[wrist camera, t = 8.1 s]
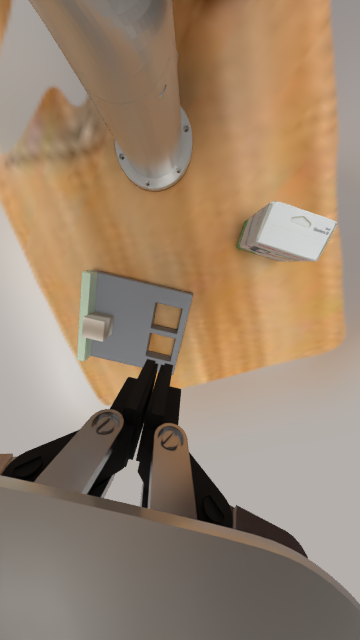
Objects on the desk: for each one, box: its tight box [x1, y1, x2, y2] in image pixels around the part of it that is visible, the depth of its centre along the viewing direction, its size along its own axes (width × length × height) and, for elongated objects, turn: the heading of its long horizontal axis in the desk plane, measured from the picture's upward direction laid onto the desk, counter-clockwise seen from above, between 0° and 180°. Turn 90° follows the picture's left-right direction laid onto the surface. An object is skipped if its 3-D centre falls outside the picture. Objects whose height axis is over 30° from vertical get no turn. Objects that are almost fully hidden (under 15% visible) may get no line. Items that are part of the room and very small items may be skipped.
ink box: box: [237, 201, 337, 261], centre depth 27 cm, size 9×5×12 cm, turn 74°
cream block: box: [82, 312, 114, 342], centre depth 35 cm, size 4×4×4 cm
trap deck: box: [77, 270, 193, 375], centre depth 37 cm, size 18×21×5 cm
